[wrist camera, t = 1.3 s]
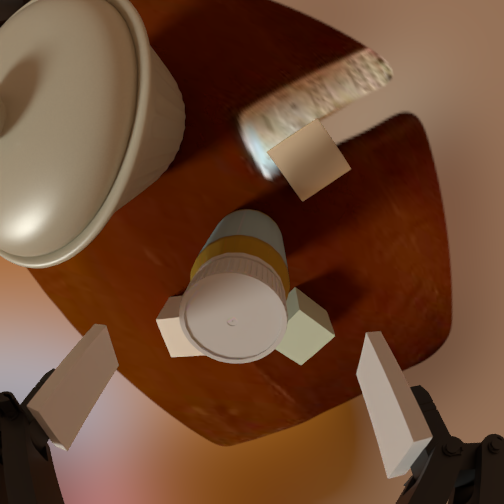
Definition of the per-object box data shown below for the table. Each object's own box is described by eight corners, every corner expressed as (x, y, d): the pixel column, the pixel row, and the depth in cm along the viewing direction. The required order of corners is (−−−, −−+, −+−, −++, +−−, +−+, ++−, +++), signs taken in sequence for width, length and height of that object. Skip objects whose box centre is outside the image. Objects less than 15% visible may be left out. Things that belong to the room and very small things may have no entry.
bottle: (276, 202, 28) (287, 254, 14) (286, 267, 31) (300, 362, 17) (208, 213, 29) (155, 273, 15) (221, 276, 31) (190, 371, 17)
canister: (217, 206, 29) (122, 325, 9) (72, 215, 30) (-67, 289, 10) (213, 36, 23) (134, -102, 3) (67, 71, 24) (-73, 47, 4)
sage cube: (265, 316, 33) (265, 342, 28) (295, 286, 31) (299, 309, 27) (297, 338, 34) (301, 365, 29) (326, 310, 32) (335, 335, 28)
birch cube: (266, 152, 27) (266, 151, 22) (308, 123, 26) (317, 118, 21) (296, 193, 28) (302, 201, 23) (337, 165, 27) (351, 169, 22)
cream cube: (169, 296, 33) (155, 319, 28) (210, 291, 32) (201, 314, 27) (182, 332, 34) (171, 357, 30) (220, 327, 34) (214, 354, 29)
